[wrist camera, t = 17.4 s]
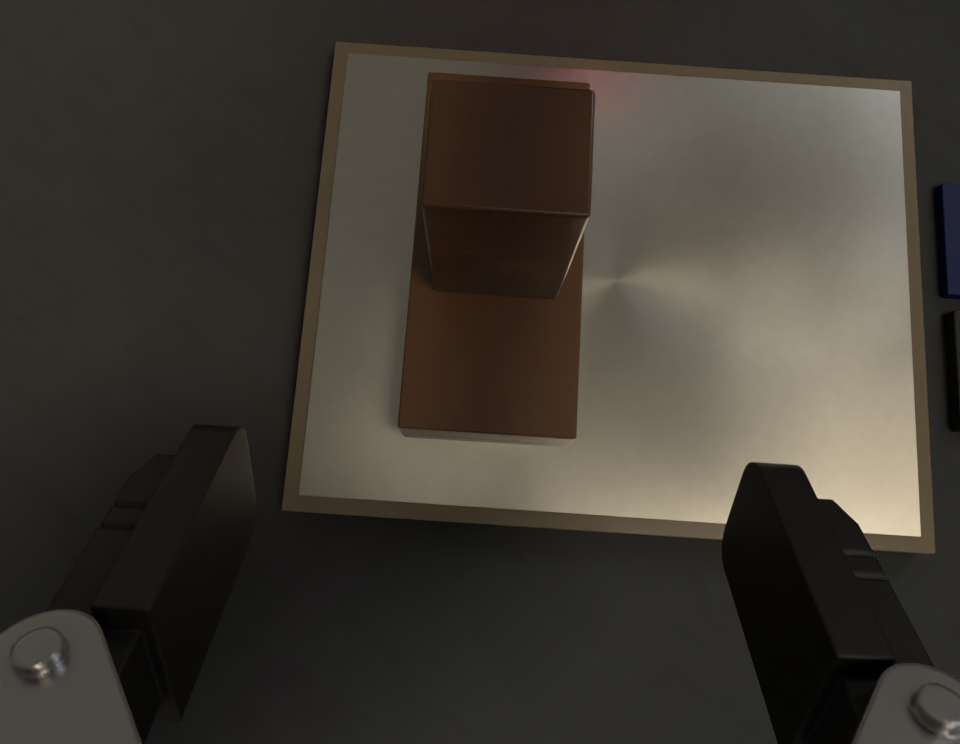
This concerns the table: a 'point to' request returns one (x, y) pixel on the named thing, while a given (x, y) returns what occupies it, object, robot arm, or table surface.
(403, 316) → the whiteboard
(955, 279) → the bar
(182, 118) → the table surface
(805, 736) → the robot arm
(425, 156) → the eraser
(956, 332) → the block
